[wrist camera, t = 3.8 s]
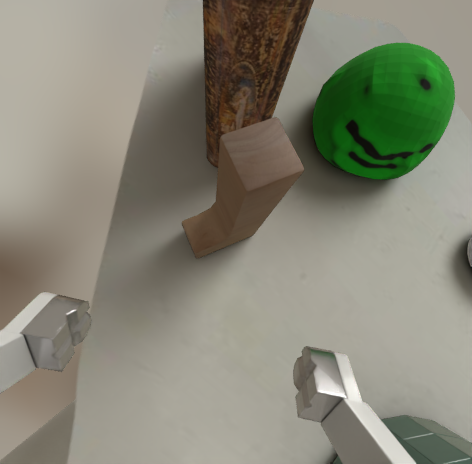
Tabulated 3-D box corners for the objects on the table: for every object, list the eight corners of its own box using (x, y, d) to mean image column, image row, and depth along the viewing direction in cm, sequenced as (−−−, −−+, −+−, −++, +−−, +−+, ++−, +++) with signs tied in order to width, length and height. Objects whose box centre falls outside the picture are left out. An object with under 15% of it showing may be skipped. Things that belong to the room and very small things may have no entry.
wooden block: (241, 207, 27) (277, 113, 13) (254, 235, 27) (307, 169, 12) (184, 230, 26) (152, 155, 12) (196, 259, 26) (179, 219, 11)
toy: (297, 166, 29) (340, 105, 19) (316, 75, 32) (362, -16, 23) (406, 197, 30) (501, 153, 20) (414, 105, 33) (500, 28, 23)
